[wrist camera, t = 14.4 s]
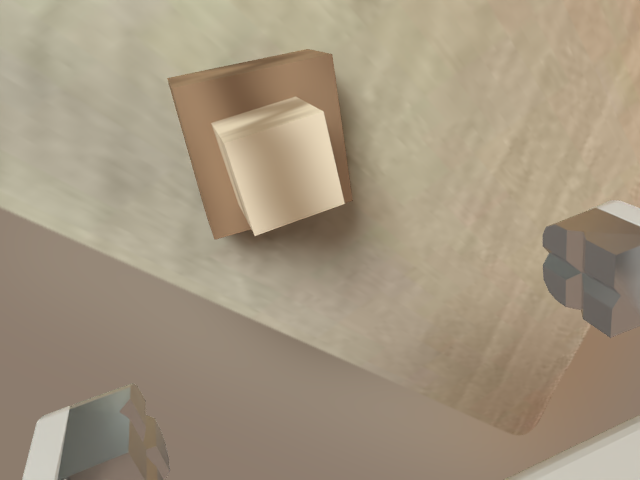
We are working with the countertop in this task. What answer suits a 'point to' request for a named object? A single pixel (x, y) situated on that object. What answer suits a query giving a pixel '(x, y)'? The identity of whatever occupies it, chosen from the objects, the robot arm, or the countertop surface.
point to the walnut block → (242, 96)
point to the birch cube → (279, 163)
